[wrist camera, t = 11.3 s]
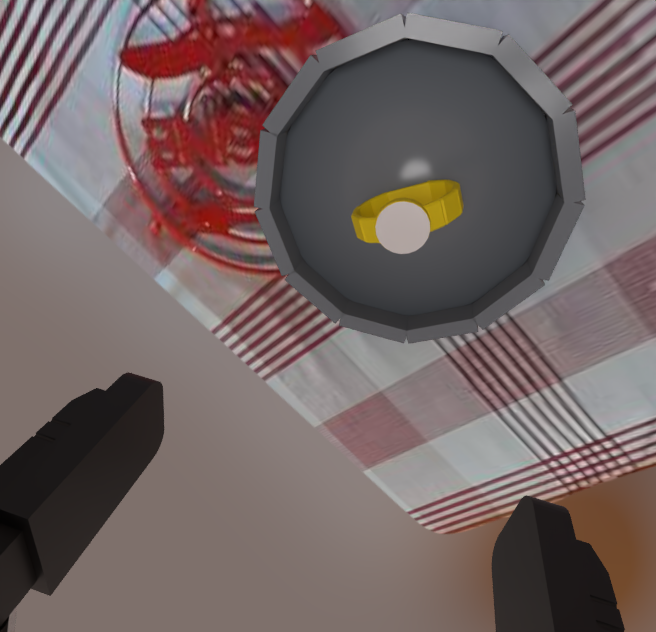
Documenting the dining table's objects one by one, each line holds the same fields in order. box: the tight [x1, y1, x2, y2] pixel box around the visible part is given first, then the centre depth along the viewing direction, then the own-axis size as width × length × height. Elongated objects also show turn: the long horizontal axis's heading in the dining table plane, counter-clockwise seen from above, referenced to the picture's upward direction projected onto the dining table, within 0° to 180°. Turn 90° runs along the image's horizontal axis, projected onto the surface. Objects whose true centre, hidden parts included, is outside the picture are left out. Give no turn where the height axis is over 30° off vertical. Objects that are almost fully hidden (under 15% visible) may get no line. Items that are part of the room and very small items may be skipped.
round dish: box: [254, 13, 586, 343], centre depth 27 cm, size 18×18×2 cm
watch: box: [351, 179, 464, 254], centre depth 25 cm, size 6×3×6 cm, turn 108°
